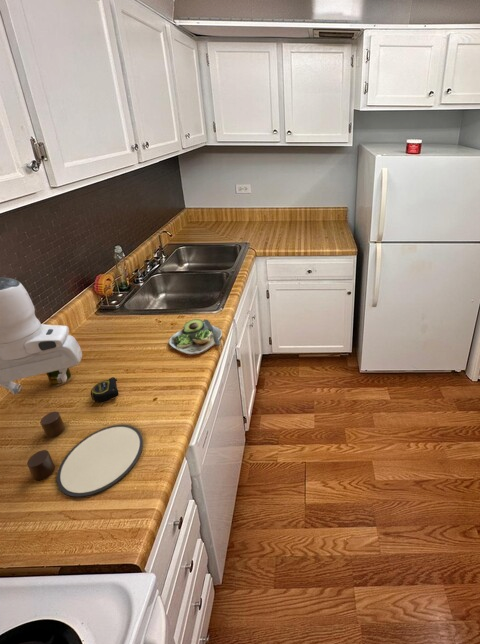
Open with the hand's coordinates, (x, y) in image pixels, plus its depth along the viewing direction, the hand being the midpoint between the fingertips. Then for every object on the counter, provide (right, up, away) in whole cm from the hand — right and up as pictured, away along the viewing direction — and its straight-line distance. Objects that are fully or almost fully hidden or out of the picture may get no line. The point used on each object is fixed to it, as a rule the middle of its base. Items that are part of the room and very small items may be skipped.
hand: (40, 386), depth 83 cm
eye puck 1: (0, -14, +5) cm, 15 cm away
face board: (+17, -17, -2) cm, 24 cm away
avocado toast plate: (+24, 0, +41) cm, 47 cm away
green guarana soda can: (-12, -7, +22) cm, 26 cm away
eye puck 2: (+5, -18, -5) cm, 20 cm away
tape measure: (+7, -10, +16) cm, 20 cm away
